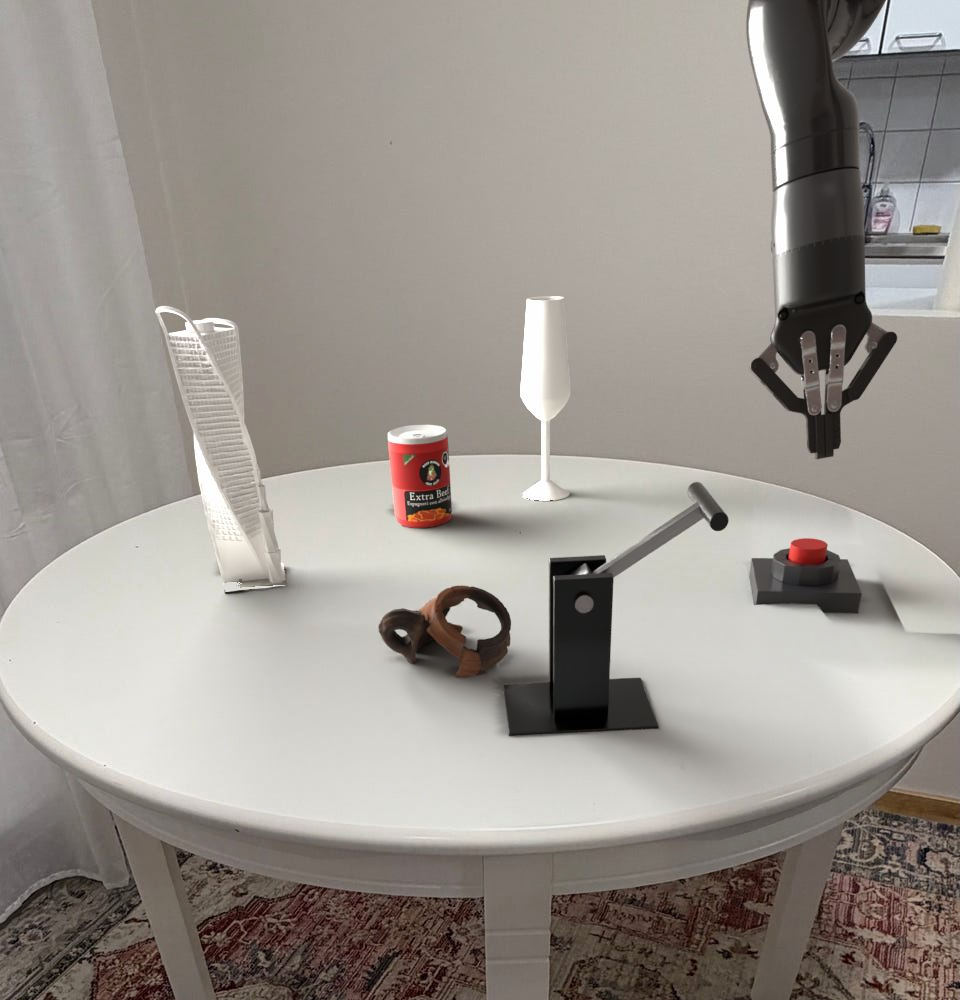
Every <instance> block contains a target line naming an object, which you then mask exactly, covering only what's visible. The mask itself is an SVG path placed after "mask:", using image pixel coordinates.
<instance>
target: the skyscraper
mask: <svg viewBox="0 0 960 1000" xmlns="http://www.w3.org/2000/svg"><path fill="white" fill-rule="evenodd" d="M165 312H166V313H171V314H176V315H177V316H179V317H182V318H183V319H185V320H186V322H184V325H185V329H186V330H180V331H175V332H169V333H168V330H167V327H166V325H165V323H164V320H163V318H162V315H161V314H160V313H165ZM155 316H156V318H157V320H158V322H159V324H160V327H161V330H162V332H163V335H164V337H165V342H166V346H167V349H168V353H169V358H170V362H171V365H172V369H173V372H174V376H175V379H176V383H177V387H178V390H179V393H180V397H181V401H182V403H183V406H184V410H185V412H186V415H187V419H188V421H189V424H190V427H191V429H192V433H193V446H194V447H193V448H194V458H195V465H196V472H197V479H198V485H199V492H200V496H201V500H202V505H203V506H202V507H203V511H204V514H205V519H206V523H207V527H208V531H209V535H210V539H211V543H212V547H213V551H214V554H215V558H216V562H217V566H218V569H219V572H220V576H221V579H222V583H223V584H224V583H227V582H237V583H238V582H240V583H242V584H240V583H239V584H240V585H238V587H239V586H240V588H242V587H255V586H273V585H287V578H285V577H286V571H285V570H284V569H285V563H284V562H282V557H281V555H282V554H281V550H282V549H280V548H279V544H278V540H277V536H276V533H275V523H274V510H273V509H270V507H269V505H268V500H267V492H266V491H267V490H266V485H265V484H263V480H262V475H261V468H259V464H258V459H257V456H256V452H255V448H254V446H253V443H252V439H251V436H250V433H249V430H248V428H247V425H246V422H245V394H244V393H245V392H244V391H245V390H244V377H243V375H244V374H243V364H242V353H241V342H240V331H239V327H238V324H237V323H236V322H235V321H233V320H230V319H225V318H218V317H206V318H203V319H196V320H193V319H192V318H191V317H190V316H189V315H188V314H187V313H186V312H185V311H182V310H181V309H179V308H176V307H173V306H168V305H161V306H158V307H156V309H155ZM215 324H219V325H225V326H230V327H216V326H215ZM236 586H237V585H236Z"/></svg>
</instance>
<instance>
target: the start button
mask: <svg viewBox="0 0 960 1000" xmlns="http://www.w3.org/2000/svg"><path fill="white" fill-rule="evenodd" d="M789 548H790V551H789V558H788V560H789V561H791V562H794V563H799V564H812V565H816V564H821V563H824V562H825V558H826V552H827V550H828V543H827V542H826V541H824V540H822V539H818V538H811V537H807V538H805V537H803V538H796V539H794V540H792V541H791V542H790V546H789Z"/></svg>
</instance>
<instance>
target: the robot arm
mask: <svg viewBox="0 0 960 1000" xmlns="http://www.w3.org/2000/svg"><path fill="white" fill-rule="evenodd" d="M886 2H887V0H748V3H747V9H746V20H745V21H746V22H745V31H746V32H745V33H746V42H747V51H748V55H749V61H750V66H751V69H752V73H753V77H754V82H755V85H756V89H757V93H758V97H759V101H760V106H761V109H762V113H763V115H764V118H765V121H766V125H767V127H768V131H769V136H770V137H769V138H770V164H771V165H770V166H771V186H772V187H771V188H772V202H771V203H772V204H771V205H772V207H771V219H770V230H771V231H770V232H771V233H770V234H771V239H770V240H771V241H770V251H771V254H772V255H771V256H772V274H773V294H774V295H773V296H774V297H773V298H774V316H775V317H774V324H773V328H772V331H771V333H770V344H769V345H768V346H767V347H766V348H765V349H764V350H763V351H762V352H761V353H760V355H758V357H755V358H754V359H753V360H752V361H751V362H750V363H749V367H748V368H749V371H750V373H751V374H752V375H753V376H754V378H756V379H757V380H758V381H759V382H760V384H761V385H763V386H764V388H765V389H766V390H767V391H768V392H769V393H770V394H771V395H772V396H773V397H774V399H776V401H777V402H778V403H779V404H780V405H781V406H782V407H783V408H784V409H785V410H786V412H791V413H796V414H801V415H803V416H804V418H805V431H806V432H805V433H806V449H807V451H808V453H809V454H814V459H815V460H821V459H827V458H832V457H834V455H835V454H834V453H835V450H839V449H840V447H841V443H842V436H841V435H842V434H841V433H842V432H841V412H842V410H843V408H844V407H845V406H847V405H849V404H850V403H852V402H854V401H857V400H859V399H860V398H861V397H862V395H863V394H864V393H865V391H866V389H867V388H868V386H869V385H870V383H871V382H872V380H873V379H874V377H875V376H876V374H877V372H878V371H879V369H880V368H881V366H882V365H883V363H884V361H885V360H886V359H887V357H888V356H889V354H890V352H891V351H892V349H893V348H894V346H895V345H896V343H897V342H898V335H897V334H896V332H895V331H887V330H886V329H884V328H882V327H881V326H879V325H878V324H875V323H874V322H873V314H872V311H871V309H870V308H869V306H868V304H867V298H866V253H865V252H866V249H865V247H866V246H865V245H866V243H865V242H866V241H865V240H866V239H865V236H866V235H865V233H866V232H865V201H864V200H865V198H864V191H863V184H862V177H861V146H860V144H861V143H860V141H861V140H860V113H859V105H858V101H857V98H856V96H855V94H854V93H853V92H852V91H850V90H849V89H848V88H847V87H845V86H844V85H843V84H842V83H841V82H840V81H839V79H838V78H837V76H836V73H835V67H834V63H835V62H837V61H838V60H840V59H842V58H843V57H844V56H845V55H847V54H848V53H849V52H850V51H851V50H852V49H853V48H854V47H855V46H856V45H857V44H858V43H859V42H860V41H861V40H862V39H863V37H864V36H865V35H866V34H867V32H868V31H869V30H870V28H871V27H872V26H873V24H874V23H875V21H876V20H877V18H878V17H879V14H880V12H881V11H882V9H883V8H884V6H885V3H886ZM865 337H866V342H865V344H864V352H865V353H866V354H867V356H866V358H865V359H864V361H863V362H862V363H861V365H860V367H859V369H858V370H857V371H856V373H855V374H854V376H853V378H852V379H851V381H850V383H849V384H848V386H847V387H846V388H844V389H843V384H844V376H845V375H844V374H845V373H844V371H845V366H846V365H848V364H849V362H850V361H851V360H852V358H853V356H854V355H855V353H856V351H857V350H858V348H859V346H860V345H861V343H862V341H863V340H864V338H865ZM777 354H778V355H779V356H780V357H781V358H782V360H783V361H784V362H785V363H786V364H787V366H788V367H789V368H790V369H791V371H792V372H794V373H795V374H796V375H798V376H800V385H801V389H802V395H803V397H798V395H796V393H794V391H793V390H792V389H791V388H790V387H789V386H788V385H787V384H786V383H785V382H784V381H783V380H782V379H781V377H780V376H779V375H778V374H777V373H776V372H778V369H779V362H778V360H777ZM820 371H824V380H823V381H824V382H823V383H824V397H823V405H822V397H821V386H820V385H821V382H820V380H821V379H820V374H819V373H820ZM822 408H823V413H822Z"/></svg>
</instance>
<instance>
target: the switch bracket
mask: <svg viewBox="0 0 960 1000" xmlns="http://www.w3.org/2000/svg"><path fill="white" fill-rule="evenodd" d="M606 562H607V557H606V555H604V554H602V555H581V556H563V557H562V556H561V557H560V556H559V557H549V558H548V681H545V682H544V681H543V682H541V681H540V682H525V683H523V682H522V683H505V684H503V693H504V703H505V715H506V723H507V724H506V725H507V732H508V733H507V734H508V736H509V737H518V736H519V737H520V736H521V737H522V736H540V735H560V734H579V733H581V734H583V733H599V732H601V733H602V732H618V731H619V732H620V731H621V732H622V731H638V730H640V731H641V730H658V729H660V727H659V723H658V721H657V717H656V715H655V713H654V710H653V707H652V704H651V702H650V699H649V696H648V694H647V691H646V689H645V686H644V682H643V680H642V678H641V677H625V678H624V677H621V678H610V675H611V652H612V649H611V648H612V630H613V629H612V625H613V603H614V601H613V599H614V580H615V579H614V578H615V577H614V578H613V575H612V573H599V574H579V575H568V574H570V573H571V572H573V571H574V570H576V569H577V568H579V567H580V566H582V565H583V564H585V563H586V564H587V565H588V567H589V569H590V570H591V572H593V571H594V570H596V569H597V568H599V567H600V566H602V565H603V564H605V563H606Z"/></svg>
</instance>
